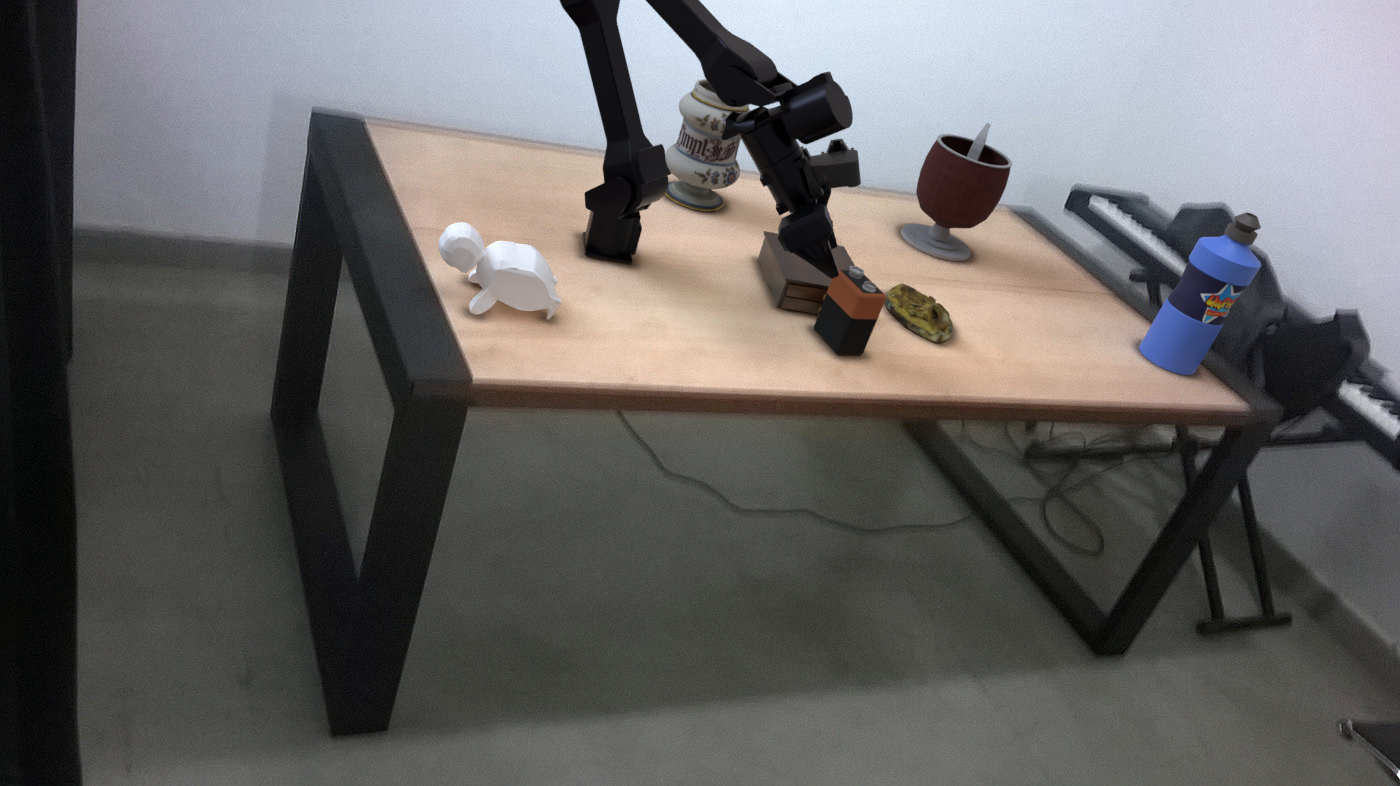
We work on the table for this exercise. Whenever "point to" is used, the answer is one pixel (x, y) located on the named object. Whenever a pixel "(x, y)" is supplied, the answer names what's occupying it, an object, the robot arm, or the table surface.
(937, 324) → the olive oval relief
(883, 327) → the table surface
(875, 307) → the battery
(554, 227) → the table surface
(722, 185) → the apothecary jar
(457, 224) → the white turtle figurine
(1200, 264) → the water bottle
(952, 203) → the mate gourd
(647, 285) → the table surface
